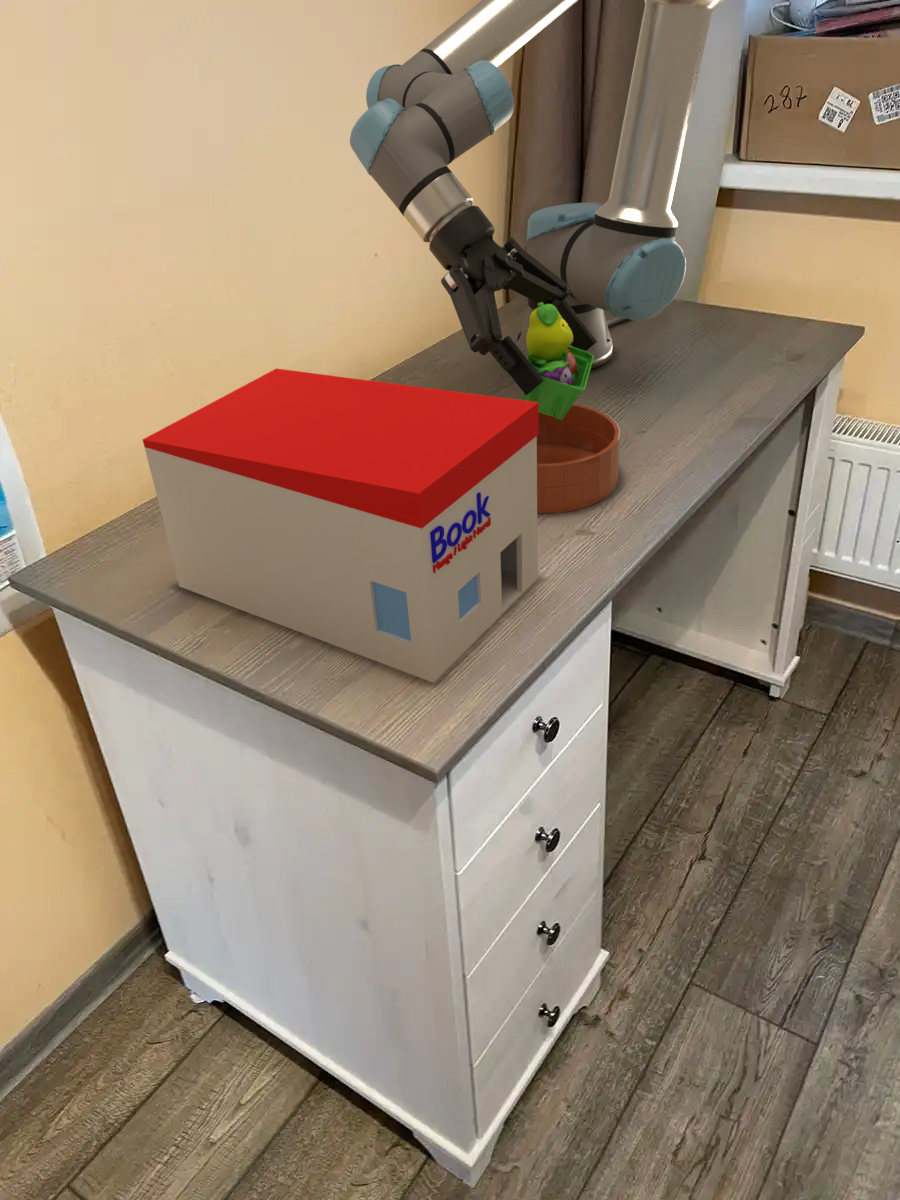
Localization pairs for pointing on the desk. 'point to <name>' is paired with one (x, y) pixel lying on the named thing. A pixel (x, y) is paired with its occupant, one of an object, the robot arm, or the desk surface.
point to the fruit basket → (555, 362)
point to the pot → (576, 459)
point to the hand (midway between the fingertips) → (563, 368)
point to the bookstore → (355, 511)
